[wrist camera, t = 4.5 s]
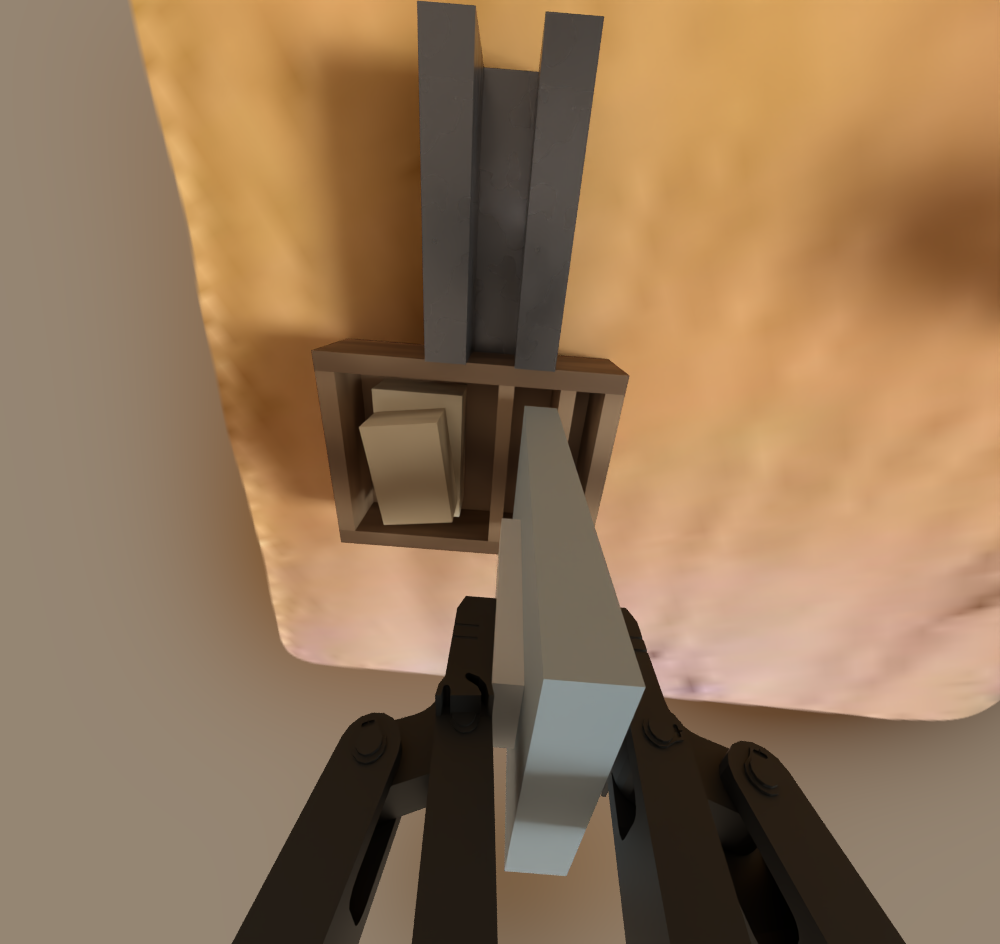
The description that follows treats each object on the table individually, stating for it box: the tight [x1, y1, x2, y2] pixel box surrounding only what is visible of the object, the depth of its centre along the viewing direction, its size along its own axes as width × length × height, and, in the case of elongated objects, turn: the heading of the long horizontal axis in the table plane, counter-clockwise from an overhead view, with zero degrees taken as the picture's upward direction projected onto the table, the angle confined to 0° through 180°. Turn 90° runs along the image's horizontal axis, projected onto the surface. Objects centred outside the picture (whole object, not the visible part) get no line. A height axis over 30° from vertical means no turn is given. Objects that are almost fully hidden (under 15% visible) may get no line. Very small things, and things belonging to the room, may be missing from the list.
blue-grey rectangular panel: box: [504, 406, 646, 876], centre depth 14 cm, size 8×2×14 cm, turn 176°
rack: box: [311, 339, 629, 554], centre depth 23 cm, size 12×16×4 cm
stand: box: [417, 1, 604, 372], centre depth 18 cm, size 12×7×5 cm, turn 176°
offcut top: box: [359, 408, 458, 525], centre depth 21 cm, size 6×4×2 cm, turn 4°
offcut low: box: [372, 379, 467, 517], centre depth 23 cm, size 8×5×2 cm, turn 176°
